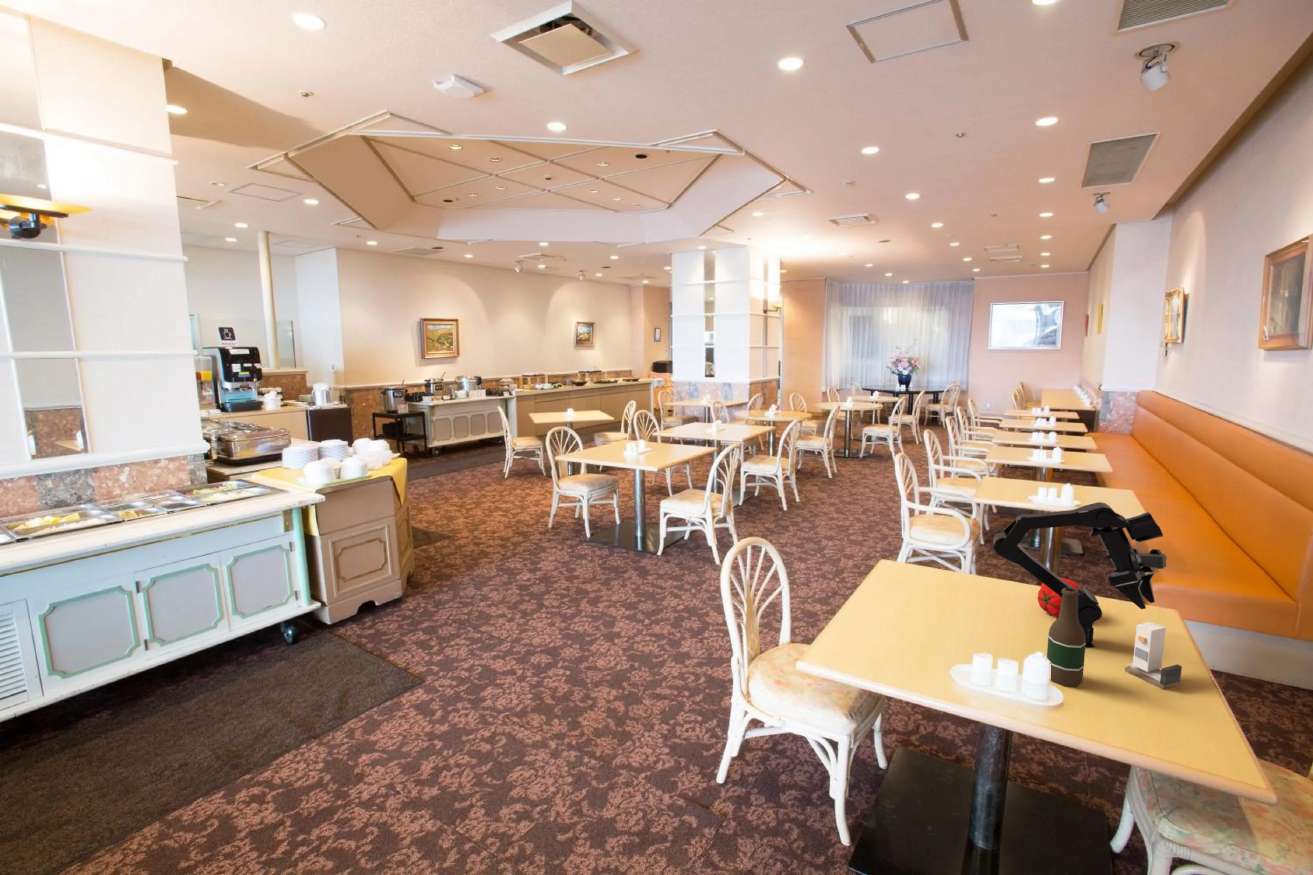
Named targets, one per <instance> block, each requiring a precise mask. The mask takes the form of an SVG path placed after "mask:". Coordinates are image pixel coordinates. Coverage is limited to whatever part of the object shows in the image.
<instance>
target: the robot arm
mask: <svg viewBox="0 0 1313 875" xmlns="http://www.w3.org/2000/svg"><path fill="white" fill-rule="evenodd" d="M1074 526H1078V527H1079V526H1080V527H1087V528H1092V529H1091V532H1090V533H1089V536H1090V537H1091V538H1093V537H1097V536H1098V537H1099V539H1100V541H1101V543H1102V544H1103V548H1105V551H1106V553H1107V555H1106V559H1107V560H1110V561H1111V563H1112V565H1113V566H1114V568H1115V569H1114V570H1113V573H1111V574H1109V576H1108V582H1109V584H1110V586H1111V587H1114V588H1115V589H1116V590H1118V591H1119V592H1120V593H1121V594H1122V595H1124V596H1125V597H1126V598H1127V599H1129V600H1130V602H1132V603H1133V604H1134V605H1136V606H1137V607H1138V608H1139V609H1140V610H1144V609H1146V608H1147V607H1146V603H1145V601H1144V598H1145V600H1147V602H1149V603H1150V604H1152V603H1155V602H1156V600H1155V595H1154V591H1153V585H1152V579H1153V578H1154V576H1155V575H1156V571H1157V570H1158V569H1162V570H1163V569H1165V568H1167V560H1168V557H1167V556H1166V554H1165V553H1162V551H1161V549H1158V548H1156V549H1155V548H1152V549H1150V551H1149V552H1145V553H1144V552H1139V550H1138V548H1135V547H1132V545H1131V542H1130V541H1129V538H1130V540H1131V541H1135V542H1137V543H1143V542H1147V541H1151V540H1155V539H1159V538H1162V537H1164V535H1163V531H1162V529H1161V527H1160V526H1159V525H1158V523H1157V522H1156V520H1155V519H1154V518H1153V515H1152V513H1150V512H1148V511H1147V512H1144V513H1142V514H1140V515H1136V516H1131V517H1127V518H1126V517H1125V516H1123V515H1122V514H1119V513H1117V512H1115V510H1113V508H1112V507H1111V506H1110V505H1109V504H1107V503H1106V502H1099V501H1098V502H1095V503H1089V504H1085V505H1083V506H1080V507H1077V508H1074V509H1068V510H1059V511H1049V512H1048V511H1047V512H1038V513H1029V514H1027V513H1026V514H1025V513H1021V514H1018V515H1017V516H1016V517H1015V519H1014V520H1013V521H1012V522H1010V524H1009V525H1007V526H1006V528H1004V529H1003V531H1002V532H1001V531H1000V532H998V533H996V534H995V535H994V536H993V538H992V542H993V543H992V544H993V550H994V553H996V554H997V555H998V556H1000V557H1002V558H1003V559H1005V560H1007V561H1009V562H1011V563H1013V564H1016V565H1019V566H1020V567H1021V568H1023V569H1024V570H1026V572H1028V573H1029V574H1030V575H1032V576H1033V577H1035V578H1036V579H1037V580H1038V581H1039V582H1041V584H1042V583H1043V584H1045V585H1046V586H1047V587H1049V588H1050V589H1051V590H1053V591H1054V592H1055V593H1056V594H1058V595H1059V596H1060V597H1062V595H1063V593H1062V592H1061V591H1062V589H1064V588H1073V589H1076V590H1077V591H1079V594H1080V595H1079V596H1078V620H1079V623H1080V625H1081V626H1082V628H1083V629H1084V632H1085V635H1086V646H1085V648H1095V647H1096V644H1094V643H1093V642H1094V630H1095V629H1094V627H1093V626H1094V625H1093V624H1095V622H1097V621H1099V620H1100V619H1101V618H1102V616H1103V611H1102V608H1101V606H1100V603H1099V601H1098V600H1097V597H1096V595H1095V594H1094V593H1091V592H1090V591H1089V590H1087V589H1086V588H1085V587H1084V586H1083V585H1080V588H1079V589H1077V588H1074V587H1072V586H1070V585H1069V584H1068V583H1066V582H1065V581H1064V580H1062V579H1061V578H1062V577H1060V576H1059V575H1057V574H1056V573H1055V572H1054V571H1052V570H1051V569H1049V568H1048V567H1047V566H1046V565H1044V564H1043V563H1041V562H1040V561H1039V560H1037V559H1036V558H1035V557H1034V556H1032V555H1031V554H1030V553H1029V552H1028V551H1026V549H1025V548H1024V546H1023V545H1022V544H1021V542H1022V540H1023V539H1024V537H1025V536H1026V534H1027V533H1028V532H1029V531H1031V530H1040V529H1050V528H1063V527H1074ZM1112 527H1113V528H1112ZM1123 529H1125V531H1126V532H1125V531H1124V530H1123ZM1126 533H1127V535H1128V537H1129V538H1128V537H1127V535H1126ZM1156 569H1157V570H1156Z"/></svg>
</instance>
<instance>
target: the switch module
mask: <svg viewBox="0 0 1313 875" xmlns="http://www.w3.org/2000/svg"><path fill="white" fill-rule="evenodd" d="M1135 628H1136V629H1135V630H1136V631H1135V637H1134V638H1135V639H1134V649H1133V658H1132V660H1133V661H1132V663H1133V665H1134V666H1136V667H1138V668H1140V669H1142V670H1144V671H1147V672H1149V671H1153V670H1157V669H1160V670H1161V669H1162V668H1163V667H1162V666H1163V656H1164V648H1165V640H1166V639H1165V637H1166V628H1167V627H1166V626H1164V625H1161V624H1158V623H1155V622H1153V621H1147V622H1144V623H1139V624H1136V627H1135Z"/></svg>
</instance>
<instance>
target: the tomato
mask: <svg viewBox="0 0 1313 875" xmlns="http://www.w3.org/2000/svg"><path fill="white" fill-rule="evenodd" d="M1060 578H1061V579H1062V580H1064V581H1065V582H1066V583H1068V584H1069V585H1070V586H1072V587H1074V588H1077V589H1079V588H1080V587H1081V585H1080V584H1078V583H1076V582H1074V581H1072V580H1071V579H1068V578H1064V577H1060ZM1061 601H1062V597H1060V596H1059V595H1058V594H1056V593H1055V592H1054V591H1053V590H1051V589H1050V588H1049V587H1047V586H1046V585H1045V584H1043V583H1042V582H1041V585H1040V589H1039V590H1038V592H1037V602H1038V604H1039V607H1040V608H1041V610H1042V611H1044V612H1046V613H1048V614H1051V615H1052V616H1053V617H1055V618H1058V617H1059V613H1060V608H1061Z"/></svg>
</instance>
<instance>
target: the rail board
mask: <svg viewBox="0 0 1313 875" xmlns="http://www.w3.org/2000/svg"><path fill="white" fill-rule="evenodd" d="M1124 672H1126V673H1128V674H1130V675H1132V676H1134V677H1137V678H1138V679H1141V680H1143V681H1145V682H1147V683H1149V684H1151V685H1153V686H1154V687H1158V688H1160V689H1161V690H1166V689H1170V688H1173V687H1177V686H1181V685H1182V684H1181V682H1182V681H1181V677H1182V665H1179V664H1178V663H1177V664H1174V665H1170V666H1165V667H1162V668H1161V669H1157V670H1153V671H1149V672H1147V671H1144V670H1142V669H1140V668H1138V667H1136V666H1134V665H1133V662H1130V665H1129V666H1125V667H1124Z"/></svg>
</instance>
